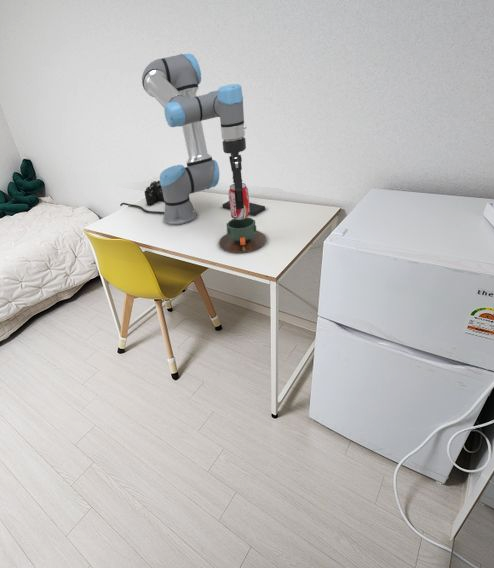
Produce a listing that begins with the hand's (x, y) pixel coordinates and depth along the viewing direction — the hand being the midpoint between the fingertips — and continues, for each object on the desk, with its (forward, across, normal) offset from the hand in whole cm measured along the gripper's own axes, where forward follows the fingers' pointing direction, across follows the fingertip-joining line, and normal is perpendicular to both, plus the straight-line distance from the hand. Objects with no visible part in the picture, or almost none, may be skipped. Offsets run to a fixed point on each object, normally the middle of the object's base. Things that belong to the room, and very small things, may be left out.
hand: (239, 204), depth 127 cm
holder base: (+16, 0, 0) cm, 16 cm away
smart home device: (+16, +33, -3) cm, 36 cm away
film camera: (+16, +59, +40) cm, 73 cm away
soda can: (+5, 0, 0) cm, 5 cm away
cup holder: (+12, -2, 0) cm, 12 cm away
